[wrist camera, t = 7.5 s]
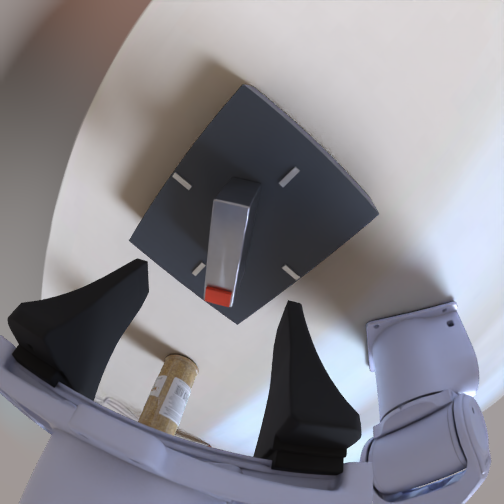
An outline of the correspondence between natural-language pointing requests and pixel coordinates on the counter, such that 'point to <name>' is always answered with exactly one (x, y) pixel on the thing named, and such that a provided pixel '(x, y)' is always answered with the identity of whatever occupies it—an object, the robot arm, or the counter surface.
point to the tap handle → (230, 239)
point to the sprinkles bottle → (169, 394)
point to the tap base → (268, 208)
